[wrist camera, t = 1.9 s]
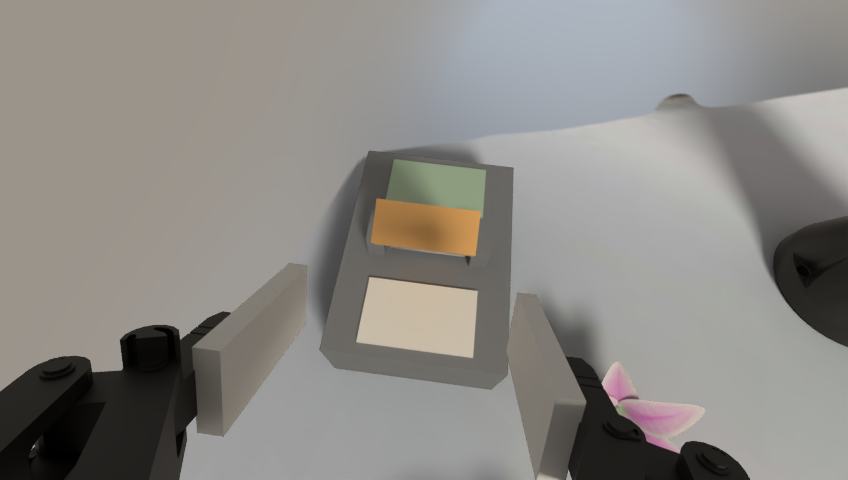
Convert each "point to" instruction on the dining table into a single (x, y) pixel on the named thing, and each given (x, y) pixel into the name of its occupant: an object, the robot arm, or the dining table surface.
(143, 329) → the robot arm
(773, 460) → the dining table surface
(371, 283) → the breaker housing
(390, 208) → the breaker lever
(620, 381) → the lily
